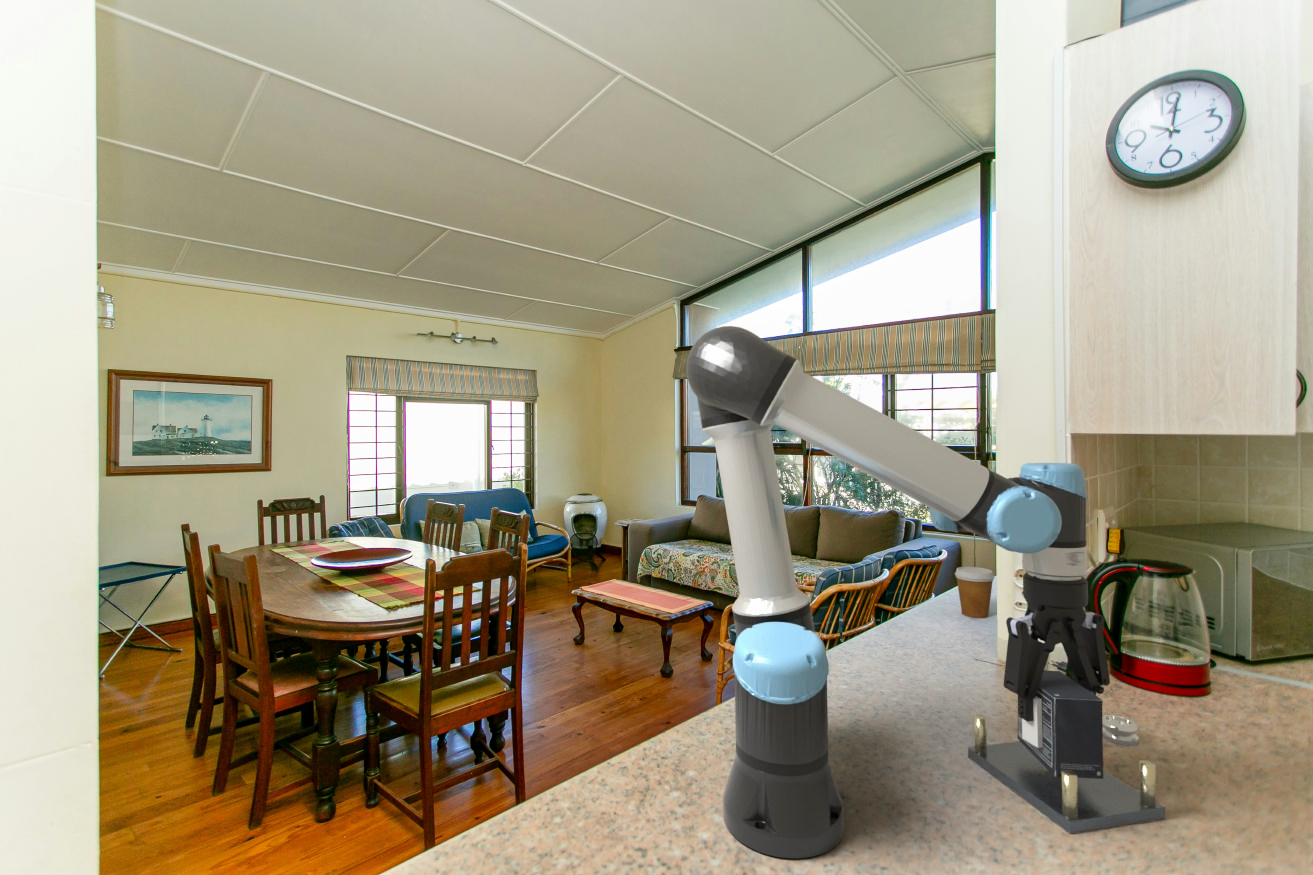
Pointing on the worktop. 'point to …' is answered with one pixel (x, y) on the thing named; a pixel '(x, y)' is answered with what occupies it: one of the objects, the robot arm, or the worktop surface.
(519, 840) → the worktop surface
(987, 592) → the disposable coffee cup
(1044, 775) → the chassis
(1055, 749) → the small box
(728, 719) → the worktop surface
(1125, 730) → the metal grooved wheel
